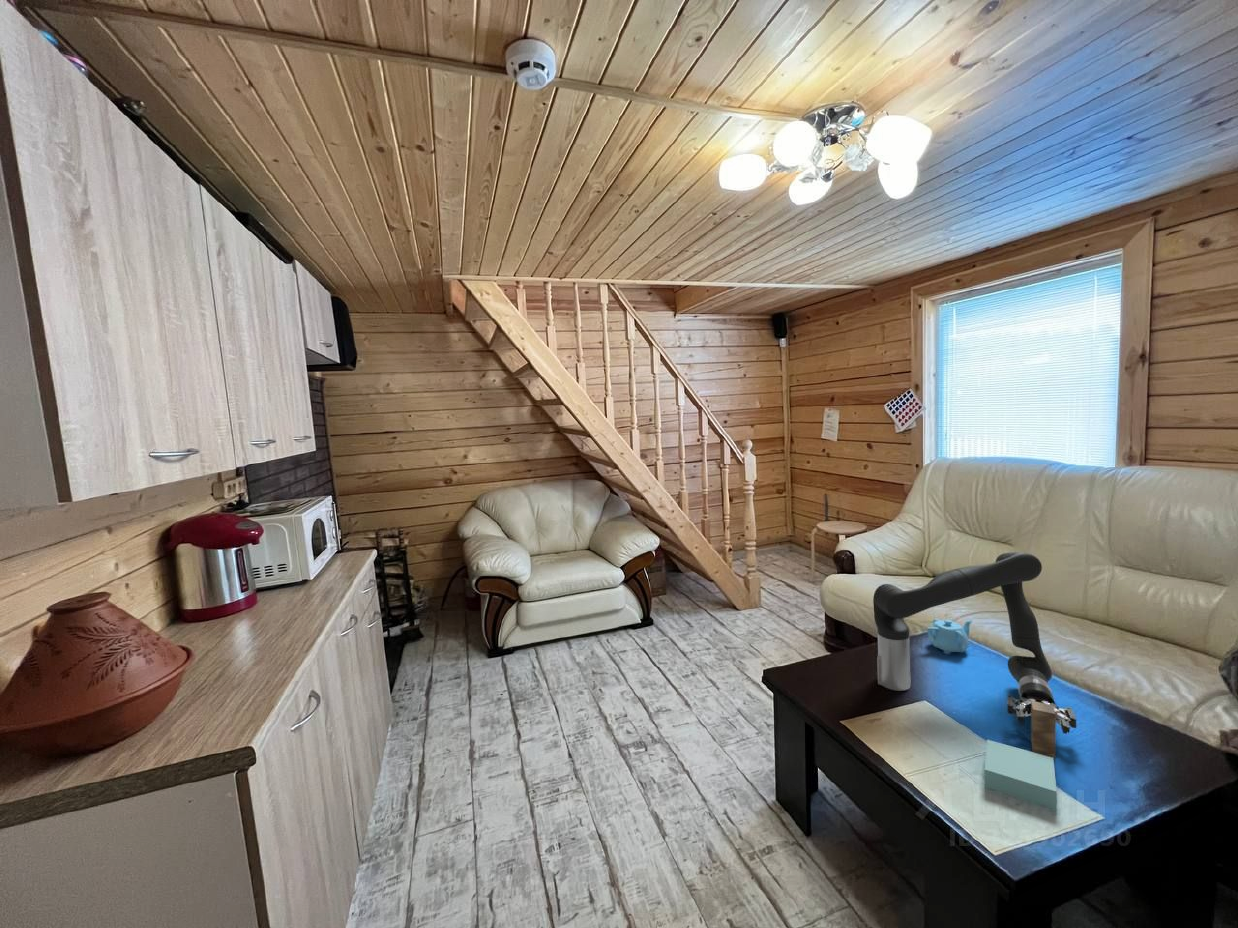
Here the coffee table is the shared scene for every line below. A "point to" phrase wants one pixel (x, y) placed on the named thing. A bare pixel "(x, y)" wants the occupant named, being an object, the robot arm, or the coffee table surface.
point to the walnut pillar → (1043, 728)
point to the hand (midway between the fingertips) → (1043, 725)
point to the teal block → (1021, 774)
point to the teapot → (949, 635)
